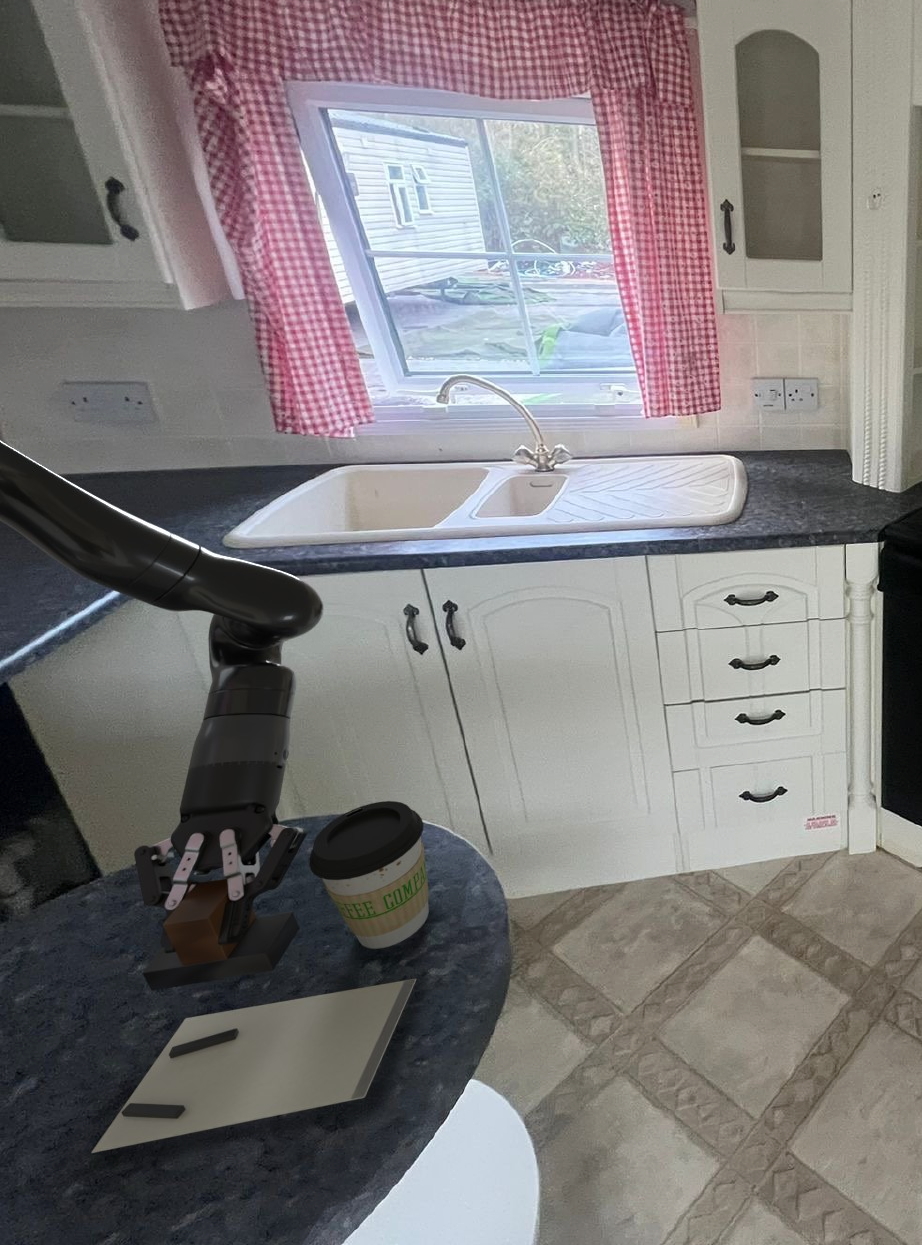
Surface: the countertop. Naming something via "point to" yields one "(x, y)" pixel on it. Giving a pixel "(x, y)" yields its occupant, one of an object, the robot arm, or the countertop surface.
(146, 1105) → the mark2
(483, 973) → the countertop surface
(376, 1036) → the board
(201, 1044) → the mark
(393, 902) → the coffee cup
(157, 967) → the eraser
